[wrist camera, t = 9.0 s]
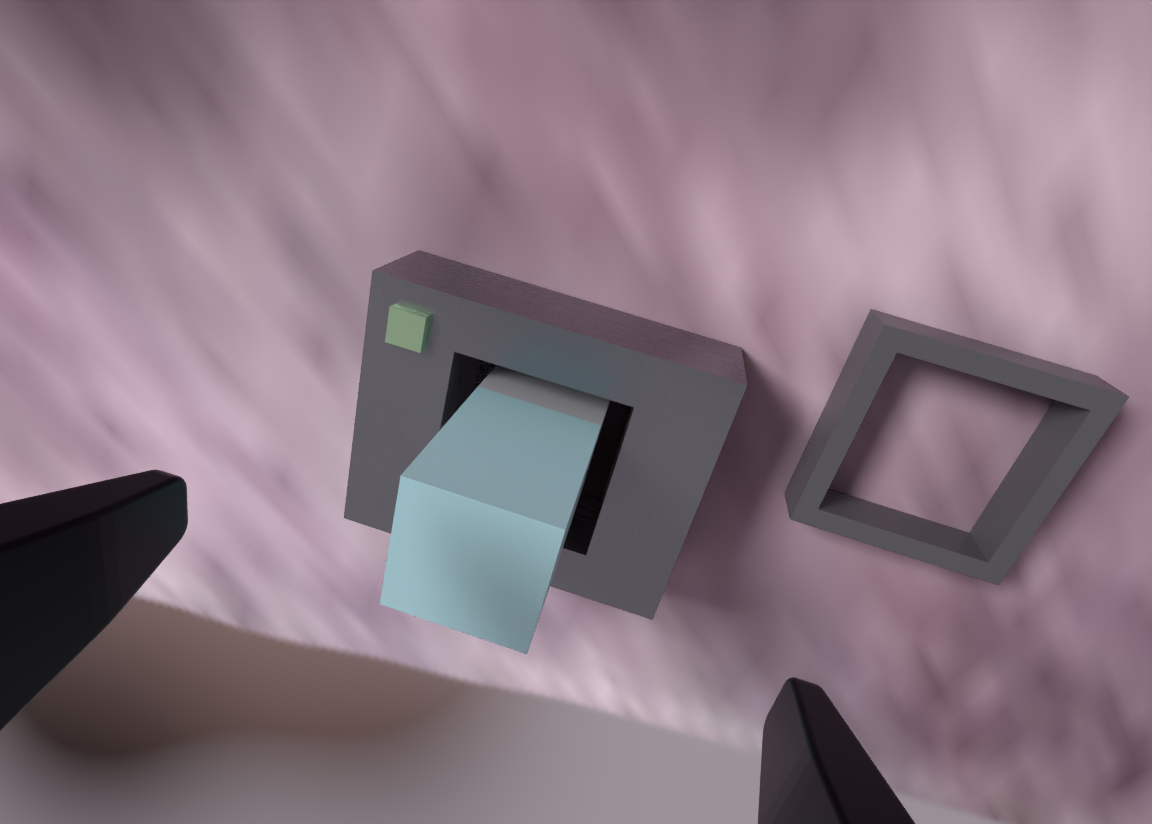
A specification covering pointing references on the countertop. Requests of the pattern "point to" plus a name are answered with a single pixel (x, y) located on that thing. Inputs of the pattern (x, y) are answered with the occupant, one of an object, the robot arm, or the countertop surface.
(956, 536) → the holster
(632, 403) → the socket
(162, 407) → the countertop surface
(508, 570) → the plug
